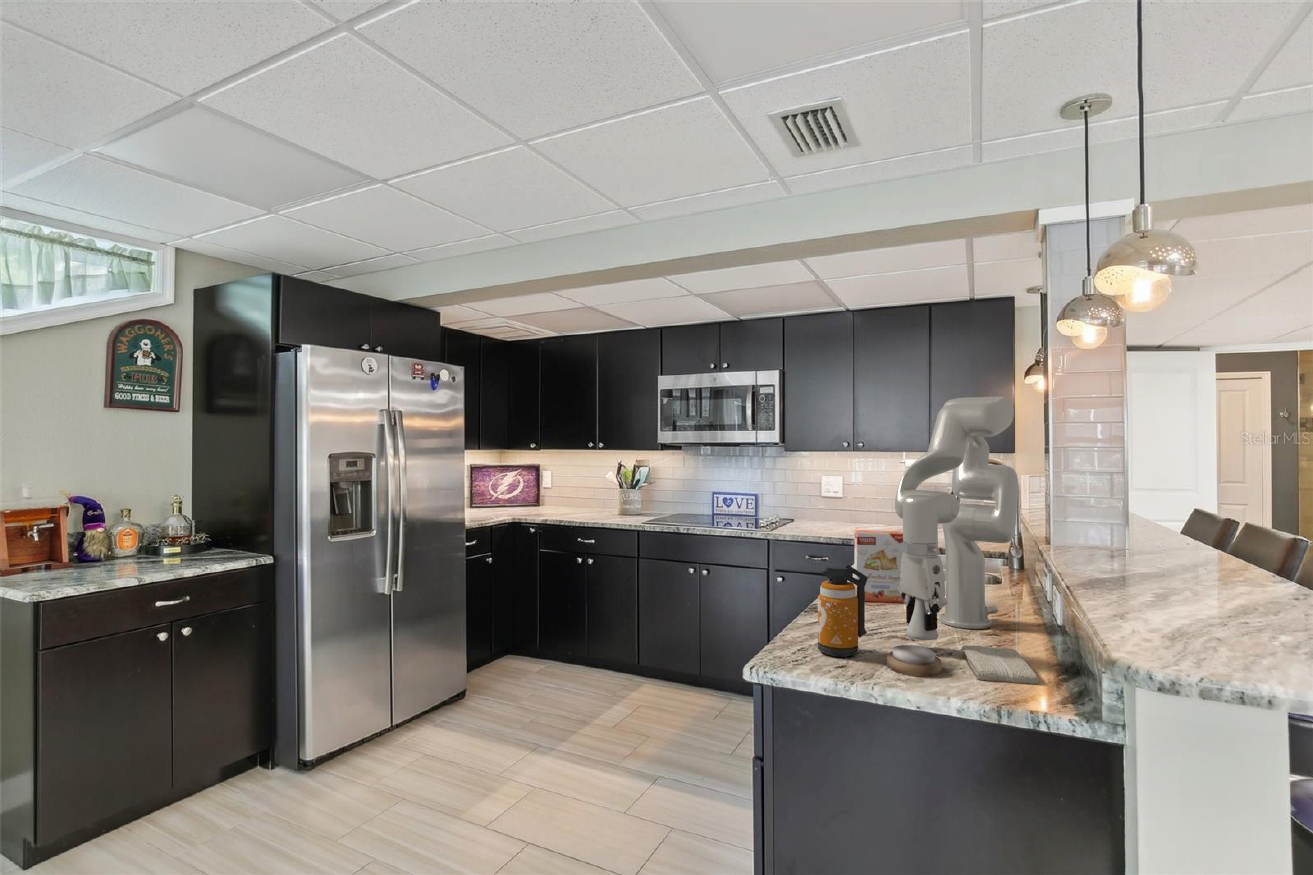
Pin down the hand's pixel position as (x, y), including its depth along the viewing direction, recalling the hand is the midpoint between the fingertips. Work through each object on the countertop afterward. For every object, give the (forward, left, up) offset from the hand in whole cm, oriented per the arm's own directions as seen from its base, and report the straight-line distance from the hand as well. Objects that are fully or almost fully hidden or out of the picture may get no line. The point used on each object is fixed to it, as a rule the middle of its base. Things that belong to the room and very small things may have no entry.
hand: (921, 625), depth 156 cm
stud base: (+10, +9, -6) cm, 14 cm away
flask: (0, 0, -3) cm, 3 cm away
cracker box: (-22, -41, -6) cm, 47 cm away
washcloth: (-6, +15, -7) cm, 18 cm away
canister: (+18, -5, -6) cm, 20 cm away
